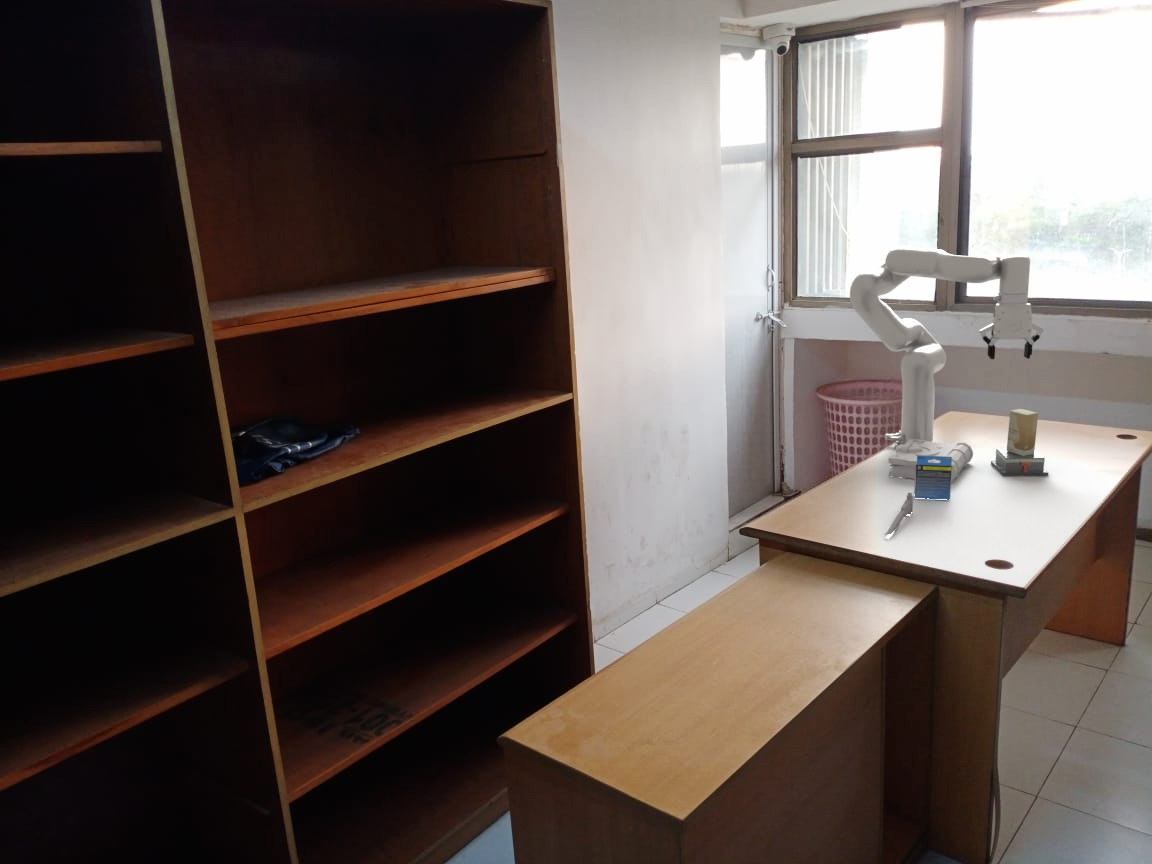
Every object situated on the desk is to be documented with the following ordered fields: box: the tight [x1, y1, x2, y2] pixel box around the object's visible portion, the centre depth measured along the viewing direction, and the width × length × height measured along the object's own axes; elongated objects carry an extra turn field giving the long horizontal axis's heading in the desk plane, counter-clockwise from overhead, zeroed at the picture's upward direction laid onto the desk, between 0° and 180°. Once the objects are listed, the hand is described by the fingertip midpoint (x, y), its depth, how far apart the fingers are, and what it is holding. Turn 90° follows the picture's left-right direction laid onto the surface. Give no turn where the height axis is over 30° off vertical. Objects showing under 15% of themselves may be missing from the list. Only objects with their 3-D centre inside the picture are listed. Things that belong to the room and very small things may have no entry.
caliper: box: [886, 492, 914, 534], centre depth 227 cm, size 20×1×6 cm, turn 146°
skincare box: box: [1006, 408, 1039, 456], centre depth 263 cm, size 6×4×12 cm
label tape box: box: [913, 455, 952, 500], centre depth 244 cm, size 9×4×12 cm, turn 72°
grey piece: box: [990, 447, 1049, 477], centre depth 265 cm, size 12×12×5 cm
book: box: [887, 439, 974, 483], centre depth 271 cm, size 19×28×8 cm
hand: (1009, 358), depth 269 cm, fingers open, 9 cm apart
